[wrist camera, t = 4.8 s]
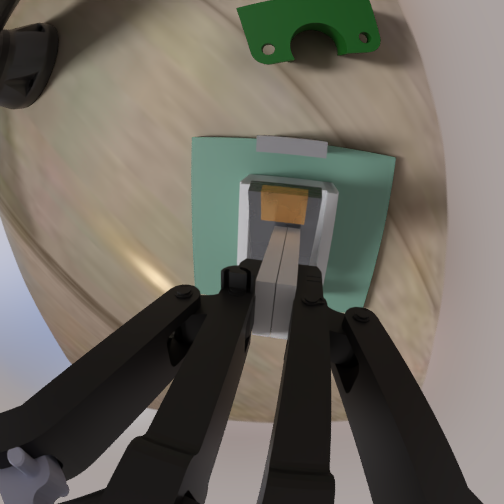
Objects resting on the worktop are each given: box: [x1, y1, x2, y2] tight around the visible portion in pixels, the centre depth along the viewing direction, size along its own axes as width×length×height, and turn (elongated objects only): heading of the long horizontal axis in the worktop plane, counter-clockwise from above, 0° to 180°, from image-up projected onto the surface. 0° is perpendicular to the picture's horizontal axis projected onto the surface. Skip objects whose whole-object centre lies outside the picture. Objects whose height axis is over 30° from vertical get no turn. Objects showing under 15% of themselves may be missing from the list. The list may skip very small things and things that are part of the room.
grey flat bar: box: [248, 180, 322, 265], centre depth 19 cm, size 14×4×2 cm, turn 175°
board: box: [191, 135, 396, 313], centre depth 25 cm, size 18×20×8 cm
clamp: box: [236, 0, 381, 65], centre depth 17 cm, size 12×6×9 cm, turn 96°
